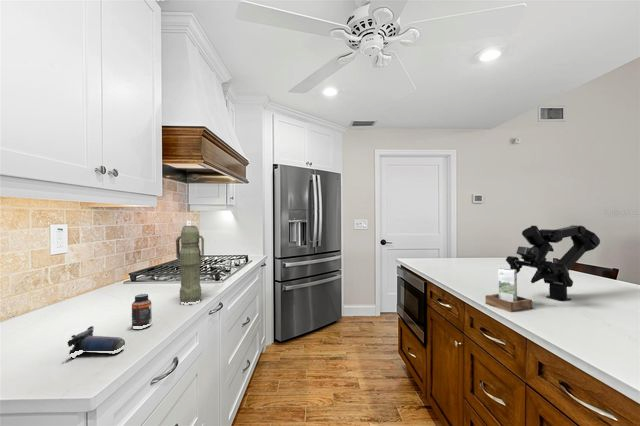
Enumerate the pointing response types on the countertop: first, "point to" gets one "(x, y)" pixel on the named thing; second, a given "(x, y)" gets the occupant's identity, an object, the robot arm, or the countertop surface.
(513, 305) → the walnut caddy
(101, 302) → the countertop surface
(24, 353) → the countertop surface
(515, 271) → the syrup box
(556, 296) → the robot arm
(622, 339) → the countertop surface
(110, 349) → the spiky navy capsule
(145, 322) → the supplement bottle
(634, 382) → the countertop surface
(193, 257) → the thermos
